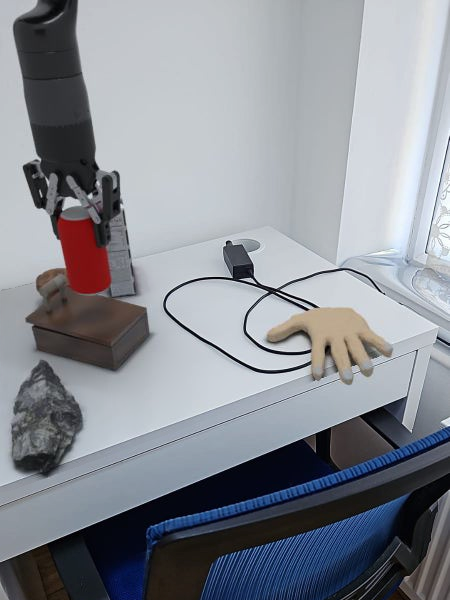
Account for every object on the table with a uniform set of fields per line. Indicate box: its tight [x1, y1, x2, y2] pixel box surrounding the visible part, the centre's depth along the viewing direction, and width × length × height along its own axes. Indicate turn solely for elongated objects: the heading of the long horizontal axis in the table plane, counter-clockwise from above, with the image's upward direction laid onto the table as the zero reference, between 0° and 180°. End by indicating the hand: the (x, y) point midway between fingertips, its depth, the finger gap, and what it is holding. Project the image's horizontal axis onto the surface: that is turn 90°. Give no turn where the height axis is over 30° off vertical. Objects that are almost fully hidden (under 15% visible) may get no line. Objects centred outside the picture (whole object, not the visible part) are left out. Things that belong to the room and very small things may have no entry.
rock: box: [10, 358, 83, 473], centre depth 79 cm, size 9×22×4 cm, turn 15°
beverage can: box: [57, 205, 111, 296], centre depth 83 cm, size 6×6×12 cm
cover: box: [24, 274, 148, 347], centre depth 89 cm, size 15×11×5 cm
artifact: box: [35, 267, 70, 299], centre depth 102 cm, size 8×8×5 cm
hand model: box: [266, 306, 394, 386], centre depth 91 cm, size 19×5×20 cm
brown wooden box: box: [31, 311, 150, 371], centre depth 93 cm, size 15×11×4 cm
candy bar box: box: [95, 185, 137, 298], centre depth 104 cm, size 11×5×16 cm, turn 13°
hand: (83, 241), depth 82 cm, fingers closed on beverage can, 6 cm apart
